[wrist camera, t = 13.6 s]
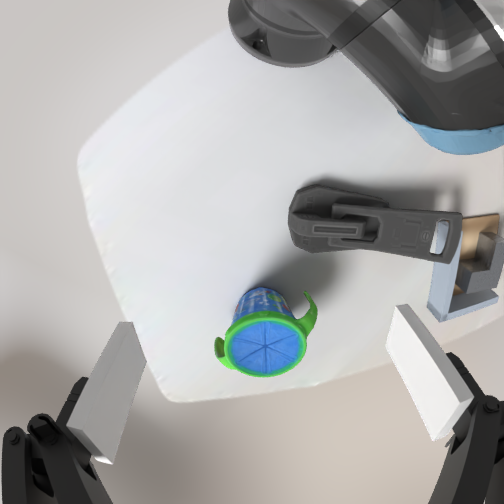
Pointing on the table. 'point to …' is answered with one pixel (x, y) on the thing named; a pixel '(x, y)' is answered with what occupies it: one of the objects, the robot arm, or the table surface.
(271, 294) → the snack cup
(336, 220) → the zipper pull
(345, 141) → the table surface
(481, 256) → the angle bracket
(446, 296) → the corner walls
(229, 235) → the table surface
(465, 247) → the cork mat
